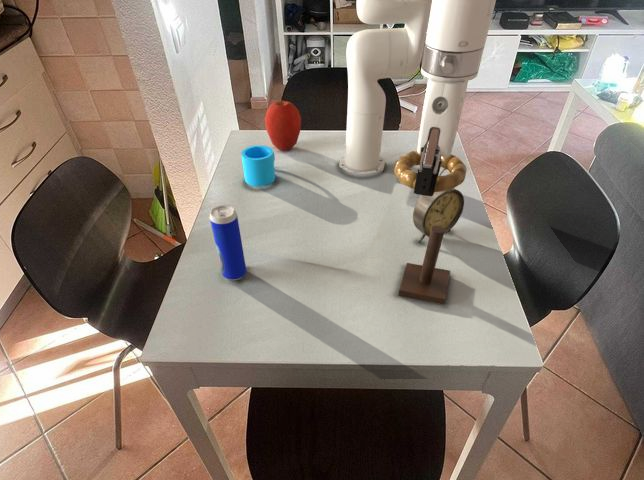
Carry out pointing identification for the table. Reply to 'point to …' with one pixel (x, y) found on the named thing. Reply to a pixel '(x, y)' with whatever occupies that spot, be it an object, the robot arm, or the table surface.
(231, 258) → the beverage can
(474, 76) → the robot arm
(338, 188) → the table surface
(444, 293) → the stand
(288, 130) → the apple
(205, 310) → the table surface
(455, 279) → the table surface
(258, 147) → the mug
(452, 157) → the ring
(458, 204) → the alarm clock
